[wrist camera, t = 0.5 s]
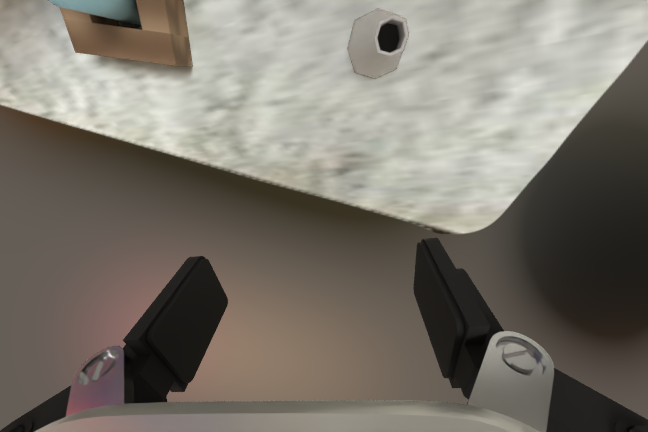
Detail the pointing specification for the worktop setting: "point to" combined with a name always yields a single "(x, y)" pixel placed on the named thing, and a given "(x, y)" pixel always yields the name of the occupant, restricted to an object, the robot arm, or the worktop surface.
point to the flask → (377, 43)
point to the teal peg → (104, 8)
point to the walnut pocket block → (134, 34)
